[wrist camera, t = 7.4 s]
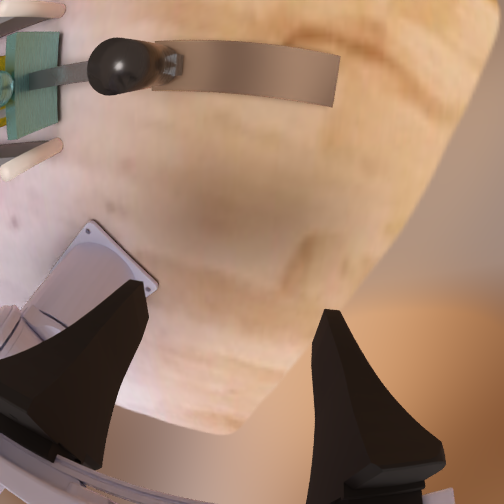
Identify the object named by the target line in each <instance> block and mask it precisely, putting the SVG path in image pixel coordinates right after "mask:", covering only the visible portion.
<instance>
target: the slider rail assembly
mask: <svg viewBox="0 0 504 504" xmlns="http://www.w3.org/2000/svg"><path fill="white" fill-rule="evenodd" d="M58 44H59V32H16V33H14V34H11V35H9V36H7V42H6V57H5V71H2V70H0V108H1V107H3V106H4V105H5V107H6V123H7V135H8V140H14V139H19V138H21V137H23V136H26V135H28V134H30V133H33V132H35V131H38V130H40V129H42V128H45V127H48V126H50V125H53V124H55V123H58V115H57V85H63V84H70V83H77V82H85V81H89V83H90V84H91V86H92V87H93V89H94V90H96V91H97V92H98V93H100V94H103V95H117V94H121V93H126V92H131V91H136V90H141V89H147V88H152V87H158V86H163V85H165V84H167V83H169V82H170V81H172V80H173V79H174V77H175V76H182V69H183V57H184V55H181V54H177V53H176V52H175V50H174V49H172V48H171V47H169V46H167V45H162V44H157V43H151V42H145V41H139V40H132V39H125V38H111V39H108V40H106V41H104V42H102V43H101V44H99V45H98V46H97V47H96V48H95V49H94V51H93V52H92V54H91V56H90V58H89V61H86V62H80V63H74V64H69V65H64V66H59V67H57V62H58Z"/></svg>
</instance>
